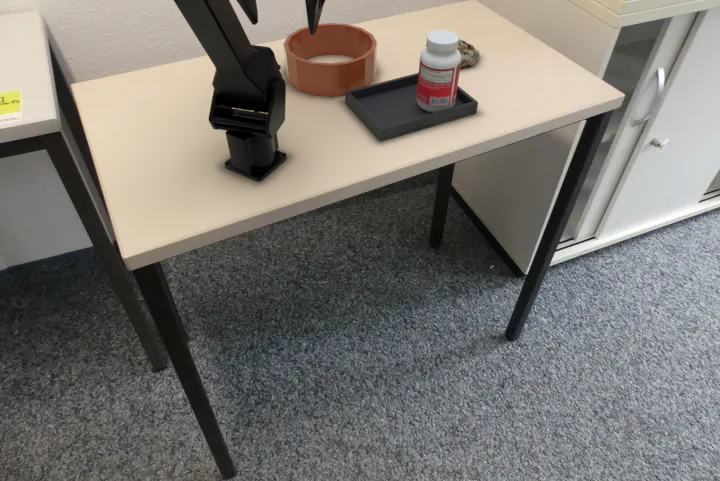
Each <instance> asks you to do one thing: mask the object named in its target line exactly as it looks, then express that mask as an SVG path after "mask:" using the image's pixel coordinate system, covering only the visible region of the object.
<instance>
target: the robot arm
mask: <svg viewBox="0 0 720 481" xmlns="http://www.w3.org/2000/svg"><path fill="white" fill-rule="evenodd" d="M173 2H174V4H175V5H176V7H177V9H178V10H179V12H180V14H181V15H182V16H183V18H184V19H185V21H186V23H187V24H188V26H189V27H190V29H191V31H192V32H193V34H194V35H195V37H196V38H197V40H198V42H199V43H200V45H201V46H202V48H203V50H204V51H205V53H206V54H207V57H208V58H209V59H210V61H211V62H212V64H213V66H214V68H215V71H214V75H213V79H212V81H211V84H212V87H213V92H212V97H211V103H210V109H209V114H208V122H209V124H210V126H211V127H212V129H213V130H215V131H218V130H220V131H225V133H224V134H225V138H226V142H227V146H228V151H229V157H230V158H229V159H227V160H226V161H225V162H224V163H223V166H224V167H225V168H226V169H229V170H231V171H233V172H236V173H238V174H240V175H243V176H245V177H248V178H249V179H253V180H255V181H259V182H260V181H262V180H264V178H266V177H267V176H268V175H270V174H271V173H272V172H273V171H274V170H275V169H276V168H277V167H279V166H280V165H281V164H282V163H284V161H285V160H287V159H288V154H287V153H286V152H283V151H281V150H279V149H280V146H279V140H278V139H279V138H278V132H279V130H280V129H281V127H282V126H283V124H284V123H285V122H286V105H287V104H286V102H287V85H286V81H285V79H284V77H283V74H282V73H281V71H280V70H281V67H282V66H281V65H280V64H279V63H278V61H277V58H276V55H275V52H274V50H273V49H272V48H271V47H270V46H265V45H256V44H252V43H251V42H250V39H249V37H248V36H247V33H246V31H245V29H244V27H243V25H242V23H241V21H240V19H239V16H238V15H237V13H236V11H235V9H234V6H233V5H232V3H231V1H230V0H173ZM304 2H305V10H306V11H305V12H306V18H307V27H309V31H310V34H311V35H314V34H315V33H316V30H317V27H318V24H320V20H321V16H322V12H323V9H324V6H325V3H326V0H304ZM236 3H237V4H238V5H239V7H240V8H241V9H242V11H243V13H244V14H245V16H246V17H247V19H248V20H249V22H250V23H251V25H253V26H256V25H257V24H258V23H259V12H258V4H257V0H236Z"/></svg>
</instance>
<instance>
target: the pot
mask: <svg viewBox="0 0 720 481" xmlns="http://www.w3.org/2000/svg"><path fill="white" fill-rule="evenodd" d="M377 47H378V41H377V39H376V38H375V36H374V35H373V34H372V33H371V32H370V31H368V30H366V29H364V28H362V27H359V26H356V25H352V24H349V23H336V22H327V23H318V27H317V30H316V33H315V34H314V35H311V34H310V31H309V27H308V26H305V27H302V28H298V29H296V30H295V31H294V32H292V33H289V35H287V37H286V39H285V40H284V42H283V54H284V62H285V71H286V76H287V79H288V82H289V84H291V85H292V86H293V87H295V89H297V90H298V91H301V92H303V93H307V94H310V95H313V96H323V97H337V96H345V91H349V90H353V89H357V88H361V87H365V86H369V85H371V83H373V82H374V81H375V78H376V74H377V51H378V50H377V49H378V48H377ZM325 55H339V56H347V57H352V58H353V59H350V60H347V61H338V62H321V61H319V62H317V61H312V60H308V59H311V58H313V57H316V56H325Z"/></svg>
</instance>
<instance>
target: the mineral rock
mask: <svg viewBox="0 0 720 481" xmlns="http://www.w3.org/2000/svg"><path fill="white" fill-rule="evenodd" d="M457 50H458V51H459V52H460V54H461V66H460V67H465V66H470V67H472V66H474V65H475V64H476V63H477V61H478V59H479V58H480V55H481V54H480V51H479V50H478V49H476V48H475V47H474V45H473V44H471V43H470V44H469V43H468V42H466V41H465V40H463V39H460V38H459V44H458V48H457Z"/></svg>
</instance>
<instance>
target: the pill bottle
mask: <svg viewBox="0 0 720 481" xmlns="http://www.w3.org/2000/svg"><path fill="white" fill-rule="evenodd" d="M459 39H460V36H459V34H457V32H455V31H452V30H448V29H436V30H432V31H430V32H429V33H428V34H426V44H425V47H424V48H423V49H422V51H421V52H420V56H419V65H418V66H419V67H418V73H419V77H418V89H417V104H418V105H419V107H420V108H422V109H423V110H425V111H428V112H432V113H434V112H438V111H441V110H445V109H448V108H452V107H453V106H454V105H455V101H456V94H457V87H458V86H459V79H460V72H461V67H462V66H461V54H460V52H459V51H458V50H457V48H458V44H459Z"/></svg>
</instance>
